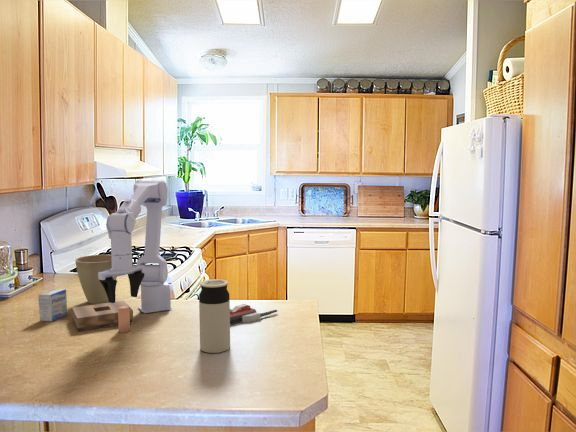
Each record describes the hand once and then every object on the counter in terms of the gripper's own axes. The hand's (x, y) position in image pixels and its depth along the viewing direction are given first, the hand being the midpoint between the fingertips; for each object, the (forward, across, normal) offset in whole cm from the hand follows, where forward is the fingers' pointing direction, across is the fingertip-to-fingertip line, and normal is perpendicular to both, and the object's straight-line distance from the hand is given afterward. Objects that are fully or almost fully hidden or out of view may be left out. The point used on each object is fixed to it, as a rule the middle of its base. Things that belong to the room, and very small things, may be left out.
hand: (123, 299), depth 144 cm
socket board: (+10, -2, -14) cm, 17 cm away
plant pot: (+10, -15, -35) cm, 39 cm away
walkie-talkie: (+10, -31, +21) cm, 39 cm away
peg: (+10, 0, 0) cm, 10 cm away
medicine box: (+10, +5, -30) cm, 32 cm away
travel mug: (+10, -5, +32) cm, 34 cm away
